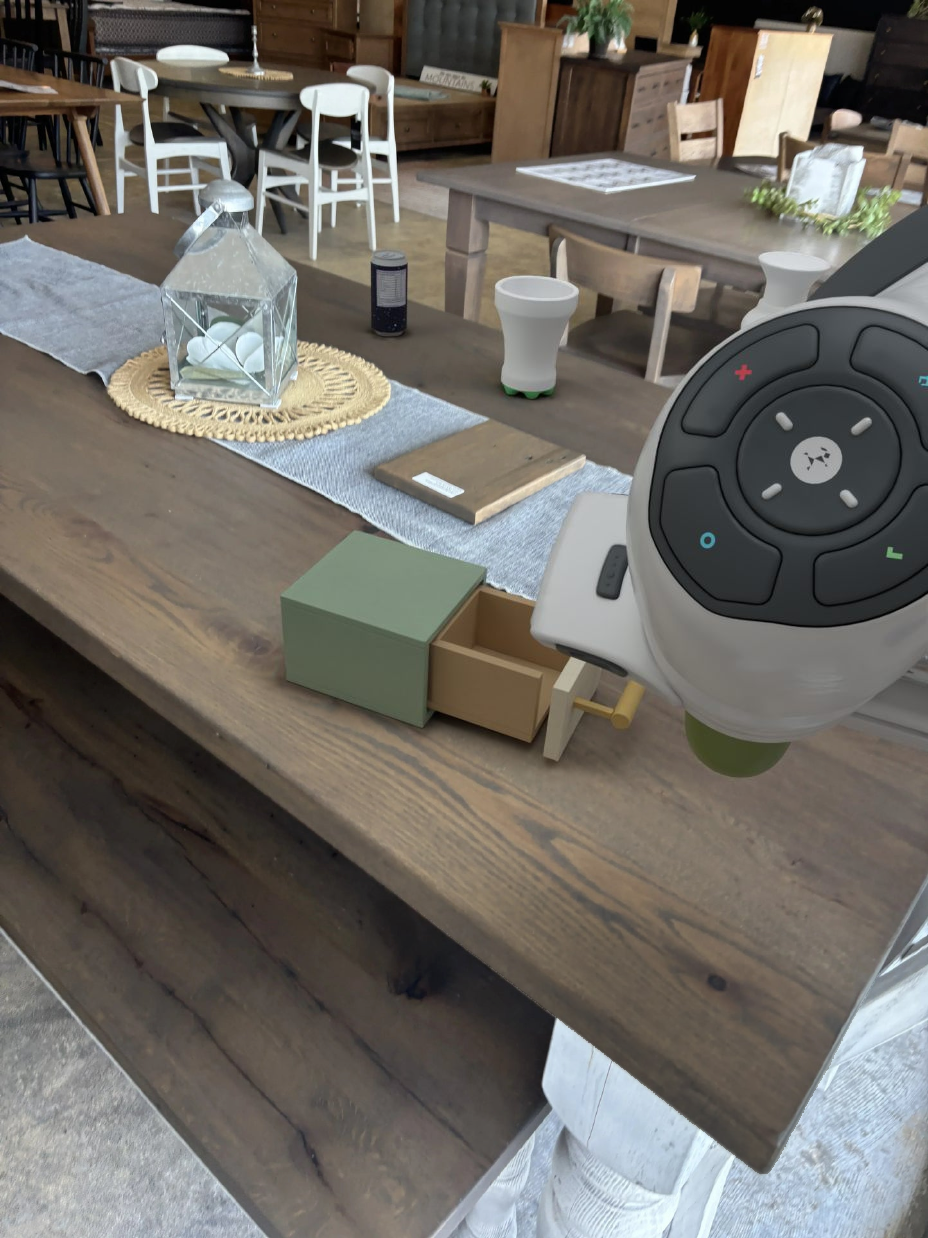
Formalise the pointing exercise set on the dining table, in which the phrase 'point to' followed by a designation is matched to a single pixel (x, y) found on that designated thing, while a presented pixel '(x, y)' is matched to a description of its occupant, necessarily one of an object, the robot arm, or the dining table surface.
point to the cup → (533, 330)
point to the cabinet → (373, 622)
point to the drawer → (514, 674)
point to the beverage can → (389, 292)
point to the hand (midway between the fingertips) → (750, 677)
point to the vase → (785, 281)
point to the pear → (731, 751)
